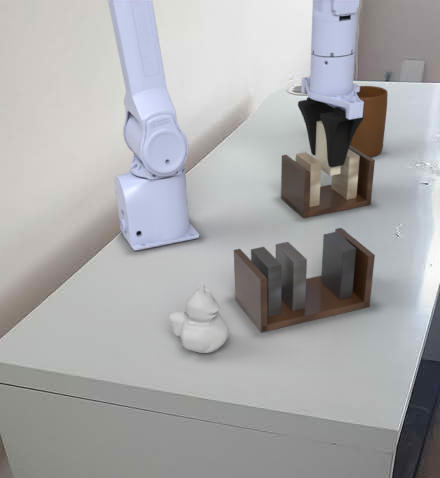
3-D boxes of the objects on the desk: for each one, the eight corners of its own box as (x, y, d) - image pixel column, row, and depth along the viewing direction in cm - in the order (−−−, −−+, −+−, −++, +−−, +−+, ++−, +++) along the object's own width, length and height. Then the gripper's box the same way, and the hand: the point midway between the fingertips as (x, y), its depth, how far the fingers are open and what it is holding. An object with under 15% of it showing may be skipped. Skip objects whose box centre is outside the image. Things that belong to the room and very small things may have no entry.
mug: (307, 157, 121) (309, 96, 115) (315, 142, 126) (317, 84, 120) (380, 160, 118) (386, 98, 112) (384, 145, 123) (390, 85, 117)
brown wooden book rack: (303, 218, 102) (305, 170, 98) (280, 199, 108) (281, 152, 103) (370, 205, 105) (375, 157, 100) (345, 186, 110) (348, 140, 106)
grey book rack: (261, 332, 80) (260, 276, 75) (235, 300, 85) (233, 246, 81) (369, 306, 83) (375, 251, 78) (337, 277, 89) (341, 224, 84)
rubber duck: (218, 365, 75) (214, 296, 70) (162, 354, 77) (154, 287, 72) (237, 339, 79) (234, 272, 74) (182, 329, 81) (176, 263, 76)
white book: (330, 175, 101) (332, 131, 97) (314, 164, 105) (316, 121, 101) (340, 174, 102) (343, 129, 98) (324, 163, 105) (326, 119, 101)
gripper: (388, 59, 89) (377, 171, 98) (335, 37, 99) (329, 140, 108) (337, 67, 87) (331, 179, 96) (288, 44, 98) (287, 147, 107)
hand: (327, 159), depth 102 cm, fingers closed on white book, 5 cm apart
